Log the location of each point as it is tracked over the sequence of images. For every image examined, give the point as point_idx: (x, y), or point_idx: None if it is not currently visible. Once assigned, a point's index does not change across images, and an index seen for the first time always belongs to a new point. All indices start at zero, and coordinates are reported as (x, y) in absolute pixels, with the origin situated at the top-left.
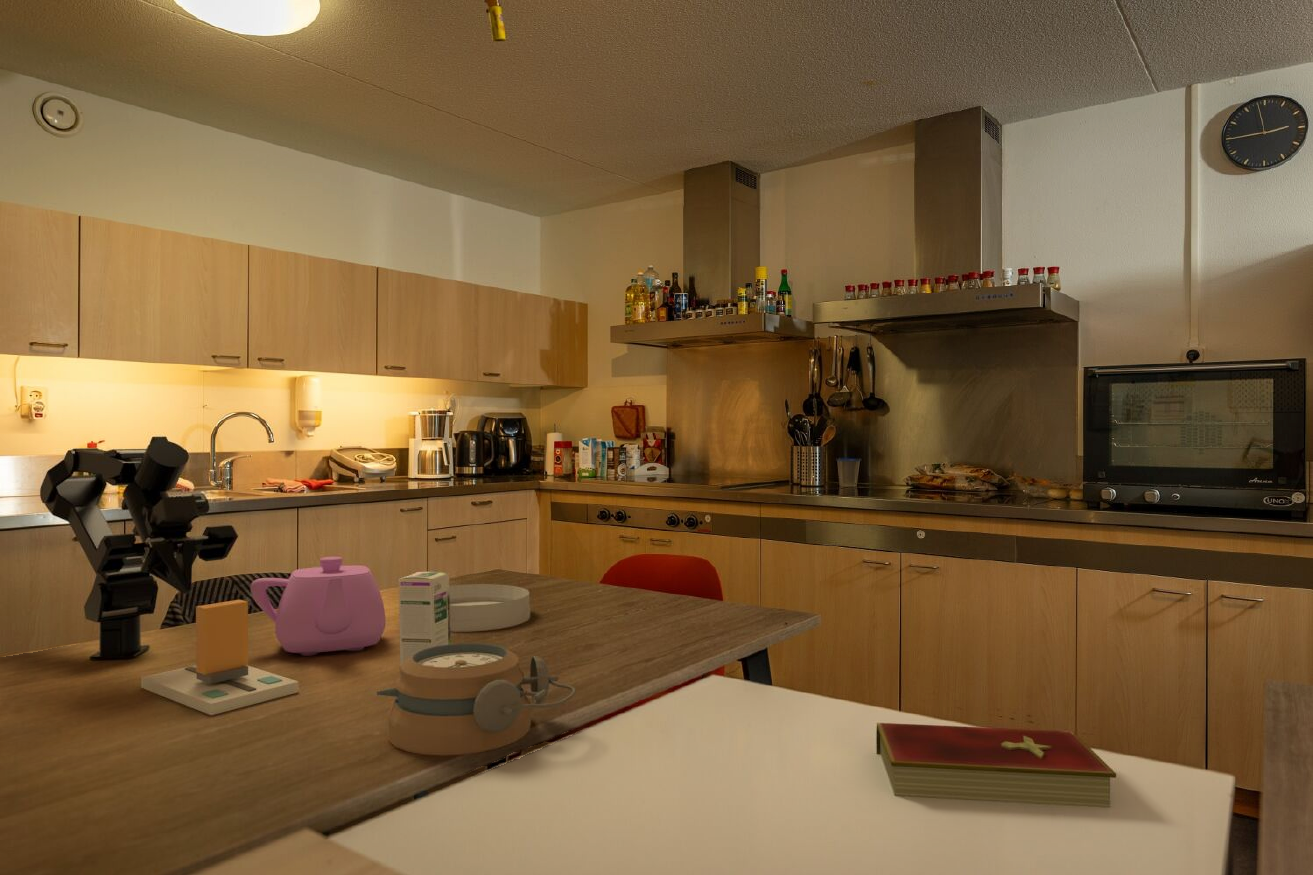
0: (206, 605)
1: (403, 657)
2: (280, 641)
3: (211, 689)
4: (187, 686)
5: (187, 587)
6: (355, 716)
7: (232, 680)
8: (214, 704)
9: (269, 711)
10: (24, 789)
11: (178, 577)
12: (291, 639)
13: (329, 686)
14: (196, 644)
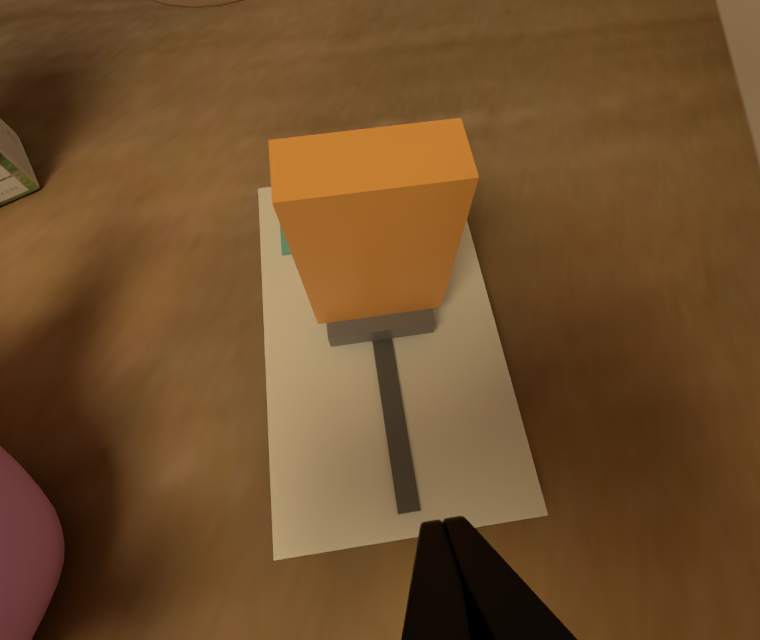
0: (435, 170)
1: (12, 157)
2: (53, 578)
3: None
4: (459, 315)
5: (450, 525)
6: (273, 47)
7: None
8: None
9: None
10: (719, 67)
11: (537, 598)
12: (44, 507)
13: (199, 200)
14: (451, 266)
